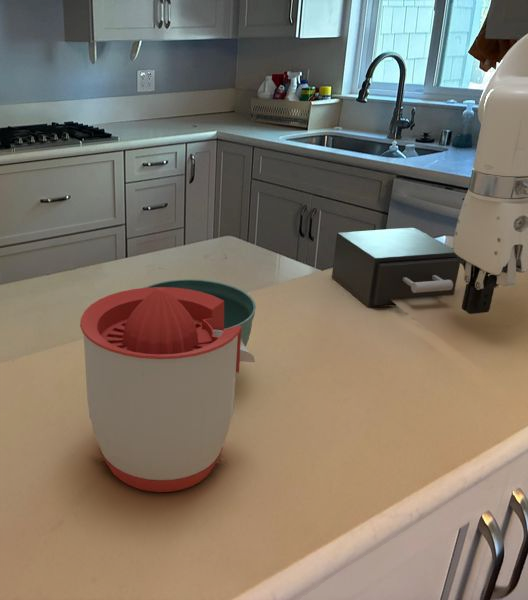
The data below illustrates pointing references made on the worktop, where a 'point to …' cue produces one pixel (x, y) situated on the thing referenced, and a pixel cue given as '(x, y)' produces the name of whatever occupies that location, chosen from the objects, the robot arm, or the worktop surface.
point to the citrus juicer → (161, 383)
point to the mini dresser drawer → (415, 279)
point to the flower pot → (235, 300)
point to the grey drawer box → (379, 256)
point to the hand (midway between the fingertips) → (474, 310)
